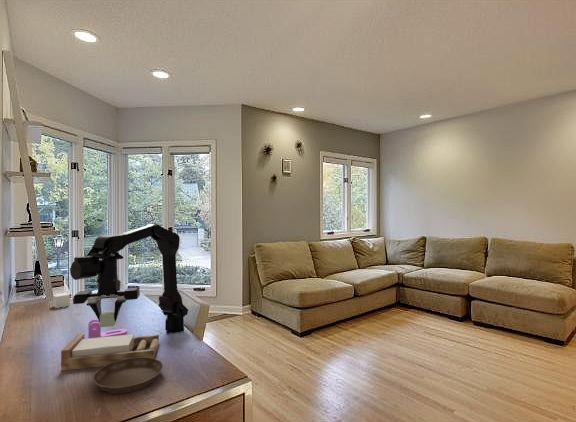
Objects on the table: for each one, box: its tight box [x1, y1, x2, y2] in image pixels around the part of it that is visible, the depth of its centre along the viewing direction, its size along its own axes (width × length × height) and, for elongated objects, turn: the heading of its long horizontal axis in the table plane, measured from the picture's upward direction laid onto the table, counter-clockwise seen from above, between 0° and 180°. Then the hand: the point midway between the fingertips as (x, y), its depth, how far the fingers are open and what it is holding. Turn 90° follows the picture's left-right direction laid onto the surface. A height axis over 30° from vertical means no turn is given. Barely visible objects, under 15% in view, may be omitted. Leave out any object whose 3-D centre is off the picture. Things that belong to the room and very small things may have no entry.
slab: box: [72, 333, 135, 358], centre depth 110 cm, size 16×10×2 cm, turn 107°
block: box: [100, 309, 117, 328], centre depth 110 cm, size 4×4×4 cm
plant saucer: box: [92, 357, 164, 394], centre depth 94 cm, size 18×18×3 cm
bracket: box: [87, 318, 128, 339], centre depth 128 cm, size 13×6×7 cm, turn 123°
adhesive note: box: [52, 292, 71, 309], centre depth 171 cm, size 6×6×6 cm
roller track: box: [60, 333, 160, 371], centre depth 111 cm, size 26×14×6 cm, turn 105°
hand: (108, 321), depth 110 cm, fingers closed on block, 4 cm apart
